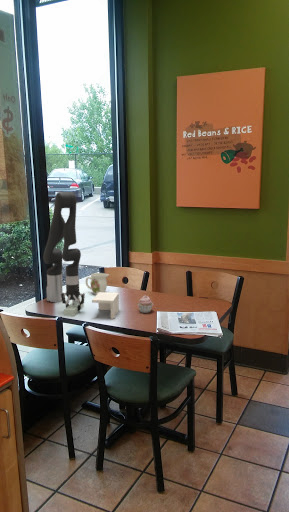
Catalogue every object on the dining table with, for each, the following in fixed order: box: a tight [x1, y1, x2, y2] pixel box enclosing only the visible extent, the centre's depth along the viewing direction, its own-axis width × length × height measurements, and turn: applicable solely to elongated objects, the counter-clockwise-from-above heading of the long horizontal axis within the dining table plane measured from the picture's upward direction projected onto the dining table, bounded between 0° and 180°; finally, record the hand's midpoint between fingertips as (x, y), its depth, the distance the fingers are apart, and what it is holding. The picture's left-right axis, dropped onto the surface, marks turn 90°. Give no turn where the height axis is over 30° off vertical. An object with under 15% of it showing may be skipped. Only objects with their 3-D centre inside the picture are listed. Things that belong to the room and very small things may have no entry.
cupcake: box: [137, 295, 154, 314], centre depth 242 cm, size 9×9×10 cm
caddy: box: [63, 296, 85, 317], centre depth 243 cm, size 18×6×6 cm, turn 172°
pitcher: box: [85, 272, 110, 296], centre depth 279 cm, size 11×18×14 cm, turn 68°
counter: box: [91, 291, 120, 320], centre depth 238 cm, size 12×16×10 cm
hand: (73, 310), depth 242 cm, fingers closed on caddy, 6 cm apart
